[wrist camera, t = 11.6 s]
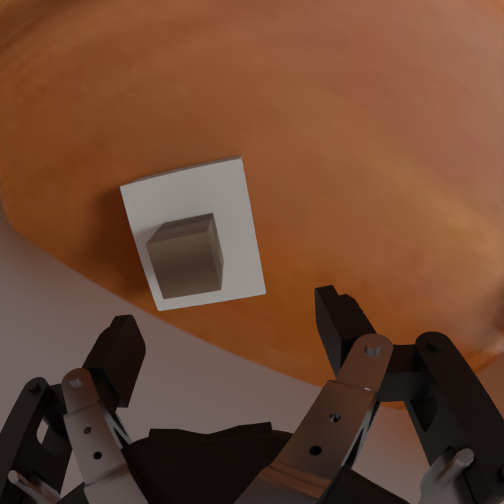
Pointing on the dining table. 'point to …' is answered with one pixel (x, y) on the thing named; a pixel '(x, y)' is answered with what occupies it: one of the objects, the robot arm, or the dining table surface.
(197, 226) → the walnut block
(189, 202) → the block
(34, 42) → the dining table surface
